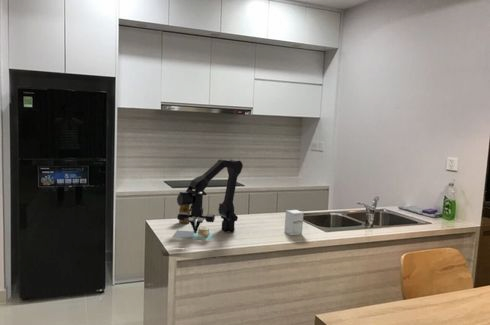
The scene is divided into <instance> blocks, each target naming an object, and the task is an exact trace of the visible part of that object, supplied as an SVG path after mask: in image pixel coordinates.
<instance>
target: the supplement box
mask: <svg viewBox="0 0 490 325" xmlns="http://www.w3.org/2000/svg"><path fill="white" fill-rule="evenodd" d="M284 216H285V217H284V218H285V219H284V233H285V234H287V235H289V236H291V237H292V236H298V235H303V224H304V211H301V210H298V209H292V210H291V209H290V210H289V209H287V210H285V215H284Z"/></svg>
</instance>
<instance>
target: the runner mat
mask: <svg viewBox="0 0 490 325" xmlns="http://www.w3.org/2000/svg"><path fill="white" fill-rule="evenodd" d="M214 235H215V233H214V232H209V236H208V238H205V237H198V231H197V232H196V233H194V230H193V231H192V230H191V231H190V230H179V229H178V230H176V231H175V233H174V234H173V235H172V237H171V238H173V239H174V238H175V239H177V238H178V239H191V240H202V241H211V240H212V239H213V236H214Z"/></svg>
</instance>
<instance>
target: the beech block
mask: <svg viewBox="0 0 490 325" xmlns="http://www.w3.org/2000/svg"><path fill="white" fill-rule="evenodd" d="M197 232H198V237H205V238H208V236H209V233H210V227H207V226H199V227H198V230H197Z"/></svg>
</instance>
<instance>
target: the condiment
mask: <svg viewBox="0 0 490 325" xmlns="http://www.w3.org/2000/svg"><path fill="white" fill-rule="evenodd" d="M179 207H180V208H179V213H180V212H187V214H188V215H191V211H190V207H191V205H183V206H179ZM179 213H178V214H179ZM188 221H189V218H185V219H184V220H178V222H176V224H180V225H187V224H188V225H189V223H190V222H188ZM190 225H191V223H190Z"/></svg>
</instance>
